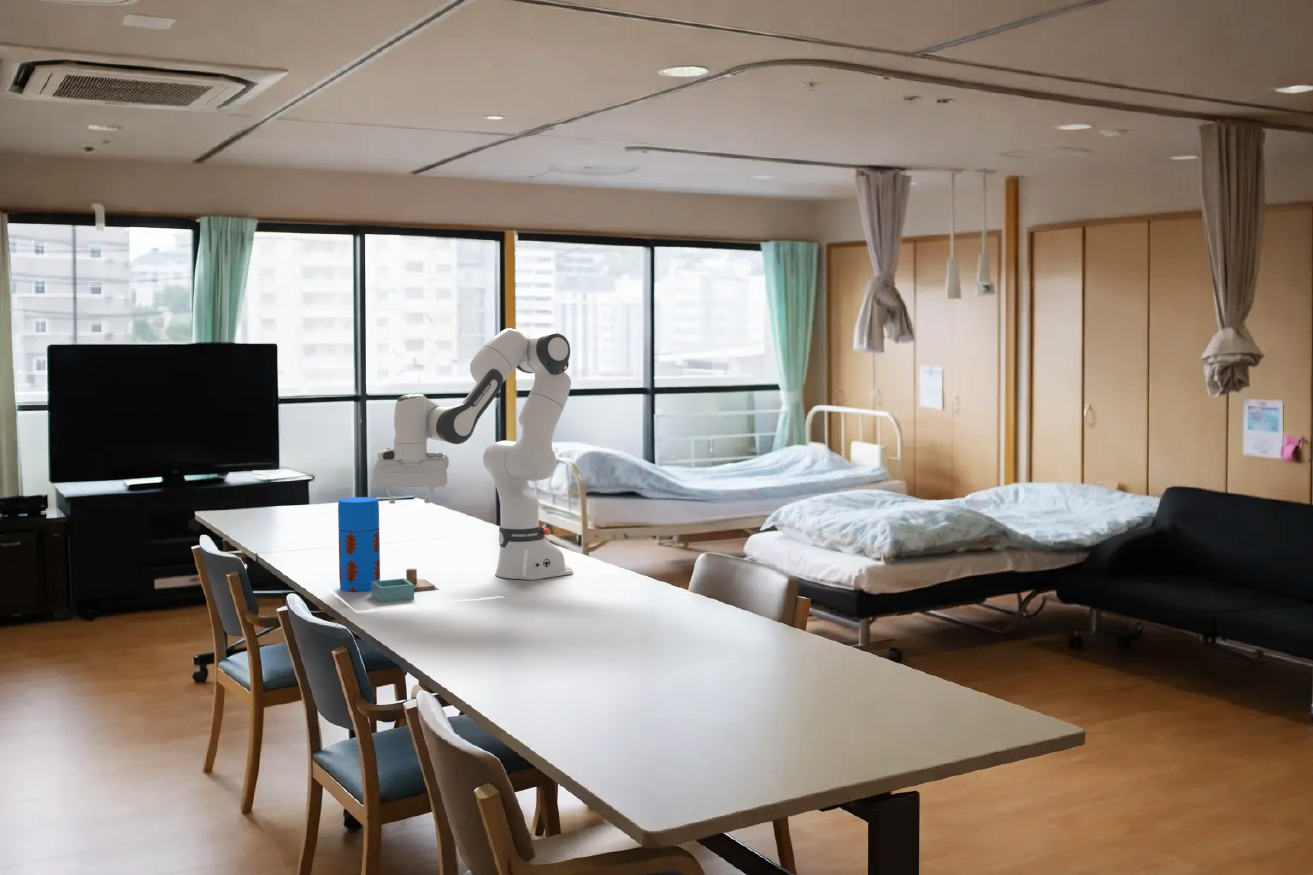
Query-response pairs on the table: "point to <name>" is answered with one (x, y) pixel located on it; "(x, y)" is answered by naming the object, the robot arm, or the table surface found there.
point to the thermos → (358, 543)
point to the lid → (418, 581)
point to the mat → (427, 590)
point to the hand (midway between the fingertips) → (409, 503)
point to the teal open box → (392, 590)
